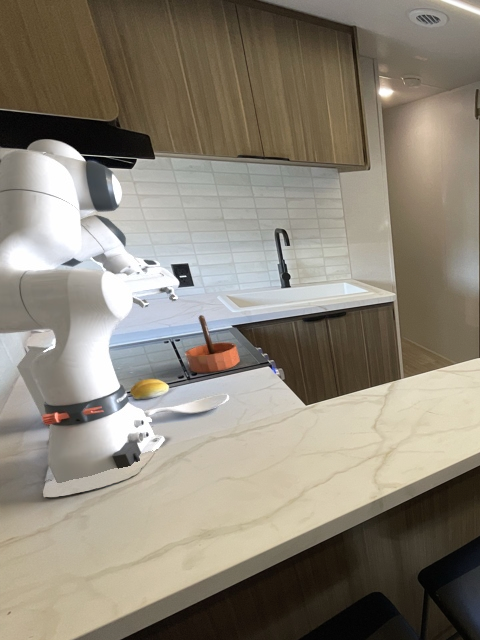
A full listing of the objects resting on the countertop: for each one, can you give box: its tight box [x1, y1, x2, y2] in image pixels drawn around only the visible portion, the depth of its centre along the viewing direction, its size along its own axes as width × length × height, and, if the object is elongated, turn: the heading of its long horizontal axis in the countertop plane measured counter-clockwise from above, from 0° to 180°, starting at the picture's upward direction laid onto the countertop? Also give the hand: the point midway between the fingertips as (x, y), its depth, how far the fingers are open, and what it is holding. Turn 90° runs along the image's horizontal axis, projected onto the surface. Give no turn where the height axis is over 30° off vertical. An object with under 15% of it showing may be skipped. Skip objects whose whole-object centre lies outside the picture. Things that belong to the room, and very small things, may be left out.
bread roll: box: [129, 378, 170, 401], centre depth 115 cm, size 8×9×4 cm
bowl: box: [184, 342, 241, 374], centre depth 135 cm, size 14×14×6 cm
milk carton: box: [16, 345, 52, 417], centre depth 99 cm, size 7×7×19 cm
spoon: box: [142, 393, 230, 417], centre depth 100 cm, size 9×32×4 cm, turn 130°
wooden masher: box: [198, 314, 215, 355], centre depth 133 cm, size 6×6×17 cm
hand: (161, 302), depth 128 cm, fingers open, 8 cm apart
